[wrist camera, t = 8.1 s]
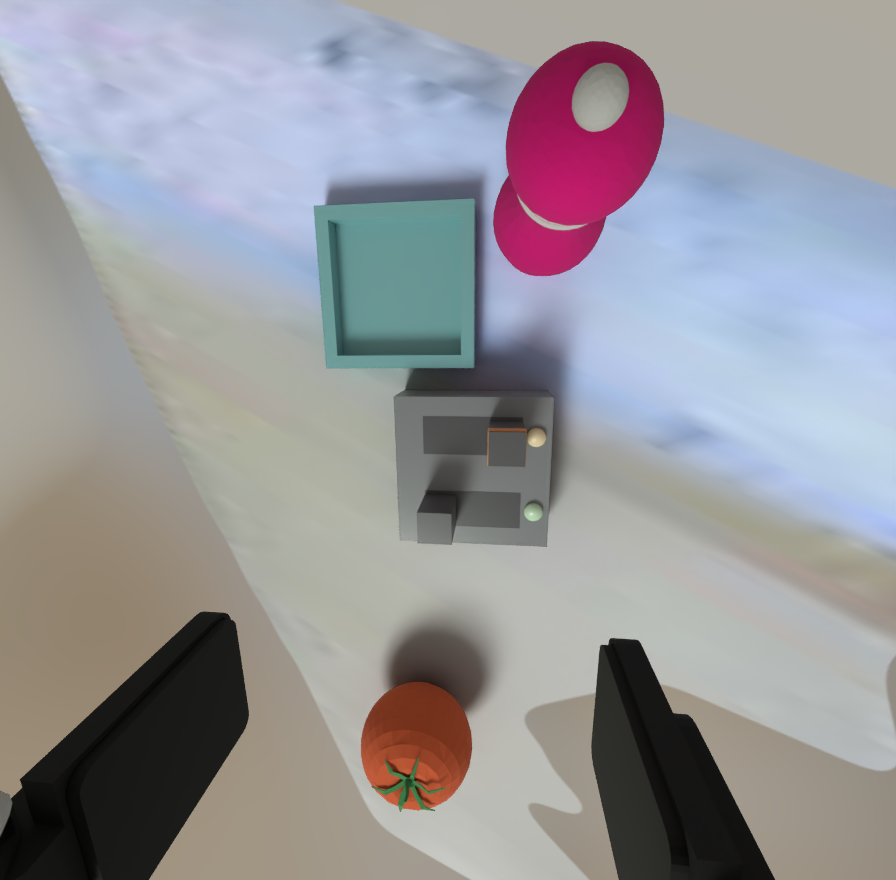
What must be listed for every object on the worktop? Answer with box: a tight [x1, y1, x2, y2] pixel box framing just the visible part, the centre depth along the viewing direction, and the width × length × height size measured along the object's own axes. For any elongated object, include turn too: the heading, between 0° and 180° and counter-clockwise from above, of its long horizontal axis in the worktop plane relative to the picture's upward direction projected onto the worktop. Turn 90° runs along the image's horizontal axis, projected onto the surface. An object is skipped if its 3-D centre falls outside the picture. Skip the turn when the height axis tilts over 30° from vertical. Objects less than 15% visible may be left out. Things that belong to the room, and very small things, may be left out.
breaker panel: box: [394, 390, 554, 547], centre depth 35 cm, size 12×12×4 cm
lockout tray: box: [314, 198, 476, 368], centre depth 34 cm, size 12×12×2 cm
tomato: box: [361, 682, 472, 812], centre depth 39 cm, size 10×10×10 cm
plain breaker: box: [417, 495, 456, 545], centre depth 33 cm, size 2×2×4 cm
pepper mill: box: [493, 41, 664, 276], centre depth 23 cm, size 7×7×20 cm
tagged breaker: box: [487, 421, 527, 467], centre depth 31 cm, size 3×2×4 cm
